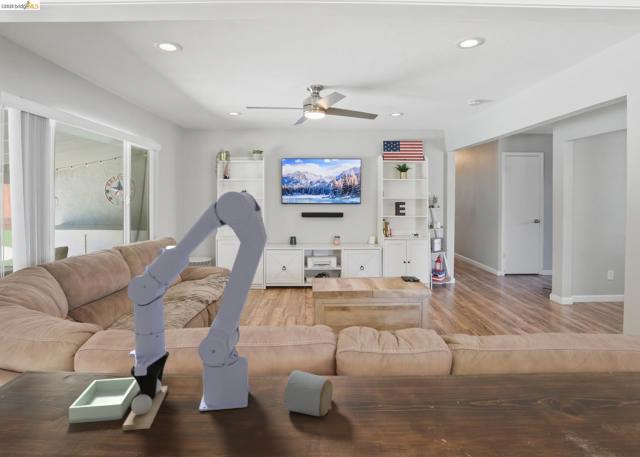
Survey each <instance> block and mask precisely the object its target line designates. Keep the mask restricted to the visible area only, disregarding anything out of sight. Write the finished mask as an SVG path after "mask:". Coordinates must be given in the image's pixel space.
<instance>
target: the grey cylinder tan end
mask: <svg viewBox="0 0 640 457" xmlns="http://www.w3.org/2000/svg"><path fill="white" fill-rule="evenodd" d="M333 388H334V387H333V383H332V381H331V380H330V379H329V378H326V377H324V376H321V375H317V374H313V373H310V372H306V371H302V370H299V369H294V370H293V371H292V372H291V373H290V375H289V376H288V378H287V381H286V384H285V388H284V392H283V393H284V395H283V396H284V397H283V404H284V408H285V409H286V411H291V412H296V413H298V414H304V415H310V416H313V417H324V416H325V415H326V414H327V413H328V411H329V410H330V407H331V403H332V398H333V393H334V392H333Z"/></svg>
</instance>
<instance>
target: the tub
mask: <svg viewBox="0 0 640 457" xmlns="http://www.w3.org/2000/svg"><path fill="white" fill-rule="evenodd" d="M139 392H140V388H139V385H138V383H137V381H136V379H135V378H134V377H133V376H132V377H122V378H121V377H119V378H107V379H102V378H101V379H94V380H93V381H92V382H91V383H90V384H89V386H87V388H85V389H84V391H83V392H82V393H81V394H80V395H79V397H77V399H76V400H74V401H73V403H72V404H71V405H70V406H69V407H68V419H69V421H68V422H69V424H78V423H79V424H80V423H89V422H90V423H91V422H102V421H112V420H113V421H114V420H122V419H123V417H124V416H125V414H126V413H127V411H128V409H129V408H130V407H131V404H132V402H133V400H134V399H135V398H136V397H137V396H138V394H139Z"/></svg>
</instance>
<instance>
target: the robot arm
mask: <svg viewBox="0 0 640 457" xmlns="http://www.w3.org/2000/svg"><path fill="white" fill-rule="evenodd" d="M225 226H228V227H229V228H230V229H232V230H233V232H234V234H235V235H236V237H237V239H238V240H239V242H240V245H239V246H238V250H237V253H236V256H235V259H234V262H233V266H232V268H231V271H230V274H229V278H228V280H227V283H226V286H225V289H224V293H223V295H222V297H221V301H220V303H219V306H218V311H217V313H216V316H215V317H214V319H213V322H212V324H211V325H210V327H209V329H208V330H209V331H208V333H207V335H206V336H205V337H204V338H202V340H201V341H200V343H199V345H198V350H197V353H198V356H199V358H200V360H201V361H202V388H203V393H202V397H201V400H200V404H199V407H198V410H199V411H200V412H203V411H204V412H205V411H206V412H207V411H214V410H215V411H216V410H229V409H237V408H238V409H239V408H247V407H248V403H249V402H248V401H249V400H248V399H249V393H250V390H251V389H250V388H251V387H250V382H249V360H248V359H249V358H248V357H247V356H241V355H239V353H238V351H237V349H236V346H237V345H238V343H239V341H240V339H241V338H240V337H241V334H240V324H241V321H242V318H241V317H242V315H243V314H242V313H243V312H244V308H245V305H246V302H247V299H248V297H249V293H250V291H251V289H252V288H251V287H252V285H253V281H254V278H255V276H256V273H257V270H258V267H259V263H260V261H261V259H262V255H263V251H264V249H265V247H266V244H267V240H268V236H267V231H266V228H265V227H266V226H265V224H264V220H263V214H262V207H261V205H259V203H258V201H257V200H256V198H255V197H254V196H253V195H252V194H250V193H248V192H245V191H239V192H238V191H227V192H225V193H223V194H222V195H220V197H219V198H218V199H217V201H214V202H213V203H212V204H210V206H208V208H207V209H206V210H205V211H204V213H203V214H202V215H201V216H200V217H199V218H198V220H196V222H195V223H194V224H193V225H192V227H191V228H190V229H189V230H188V231H187V232H186V234H184V236H183V237H182V238H181V239H180V241H179V242H178V243H177V244H176V245H167V246H166V247H162V248H160V249H158V251H157V252H156V254H157V255H158V256H157V257H156V258H154V260H153V261H152V262H151V263H150V264H149V265H146V266H144V267H143V269H142V271H143V273H142V274H141V275H137V276H134V277H132V278H131V281H130V282H129V283H128V285H127V291H126V292H127V296H128V298H129V300H130V301H131V302H133V304H132V305H133V326H134V328H133V329H134V345H135V346H134V348H135V349H132V350H130V352H129V357H130V358H134V363H135V364H134V365H133V366H132V367H131V369H130V374H131V376H132V377H134V378H135V379H136V381H137V383H138V385H139V388H140V390H139V392H140V393H141V394H145V395H148V396H149V397H150V398H151V399H154V398H155V394H156V387H157V380H158V379H159V380H160V382H161V383H162V381H163V374H164V369H165V366H166V363H167V360H168V357H169V355H170V352H169V351H167V347H166V333H165V332H166V331H165V307H164V306H165V305H164V296H165V295H166V293H167V291H168V289H169V286H170V285H171V284H173V282H174V281H175V280H176V279H177V278H178V277H179V276H180V275H181V274H182V273H183V271H184V270H186V269H187V267H188V266H189V265H190V256H191V254H192V253H193V252H195V250H196V249H197V248H198V247H199V246H200V245H201V244H202V243H203V242H204V241H205V240H206V239H207V238H208V237H209V236H210V235H212V233H214V231H215V230H216V229H218V228H221V227H225ZM141 394H140V395H141Z"/></svg>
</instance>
